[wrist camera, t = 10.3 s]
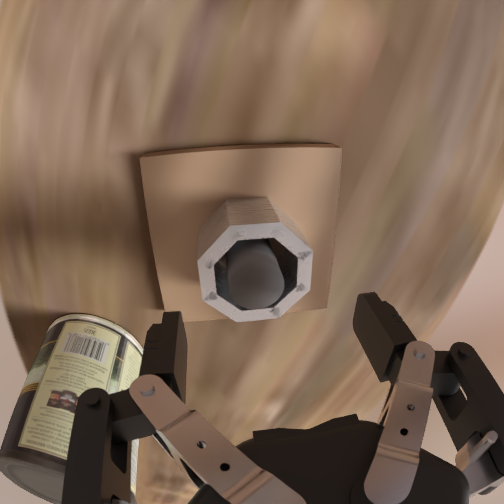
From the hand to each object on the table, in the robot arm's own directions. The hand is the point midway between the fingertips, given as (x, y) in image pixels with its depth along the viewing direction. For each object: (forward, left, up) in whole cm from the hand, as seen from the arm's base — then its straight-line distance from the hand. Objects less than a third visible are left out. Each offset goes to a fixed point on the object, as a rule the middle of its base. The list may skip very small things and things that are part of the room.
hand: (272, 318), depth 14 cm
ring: (0, 0, -8) cm, 8 cm away
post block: (0, 0, -9) cm, 9 cm away
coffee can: (+14, +11, -9) cm, 20 cm away
